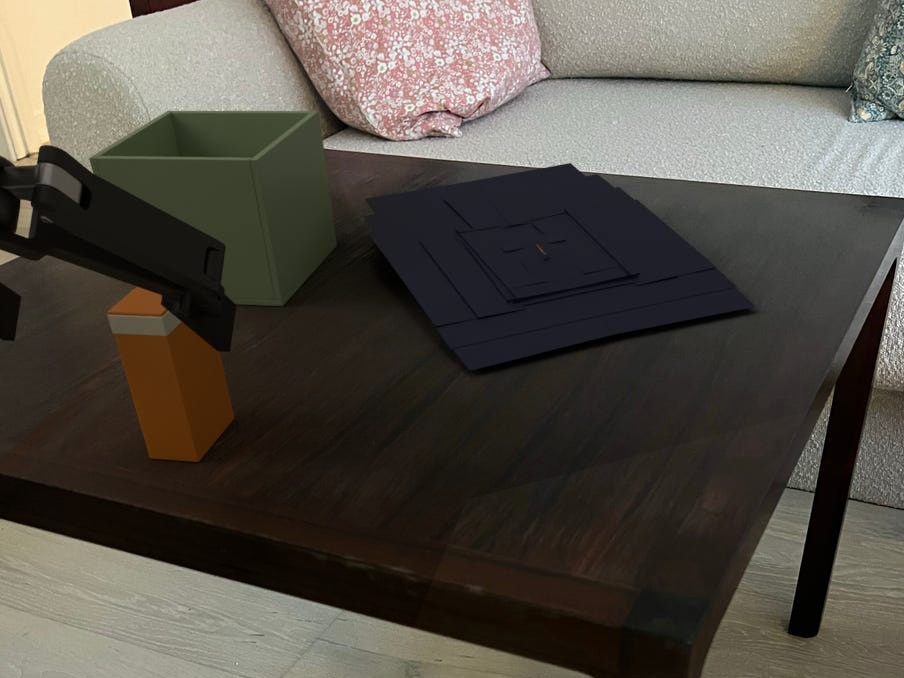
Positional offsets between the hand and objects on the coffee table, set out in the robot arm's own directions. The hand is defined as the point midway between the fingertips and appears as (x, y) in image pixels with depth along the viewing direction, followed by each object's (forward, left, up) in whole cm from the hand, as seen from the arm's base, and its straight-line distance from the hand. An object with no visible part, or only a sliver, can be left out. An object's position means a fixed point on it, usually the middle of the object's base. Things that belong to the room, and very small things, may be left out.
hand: (117, 323), depth 60 cm
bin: (-9, +34, -10) cm, 37 cm away
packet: (0, +5, -10) cm, 11 cm away
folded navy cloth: (+18, +35, -10) cm, 41 cm away
